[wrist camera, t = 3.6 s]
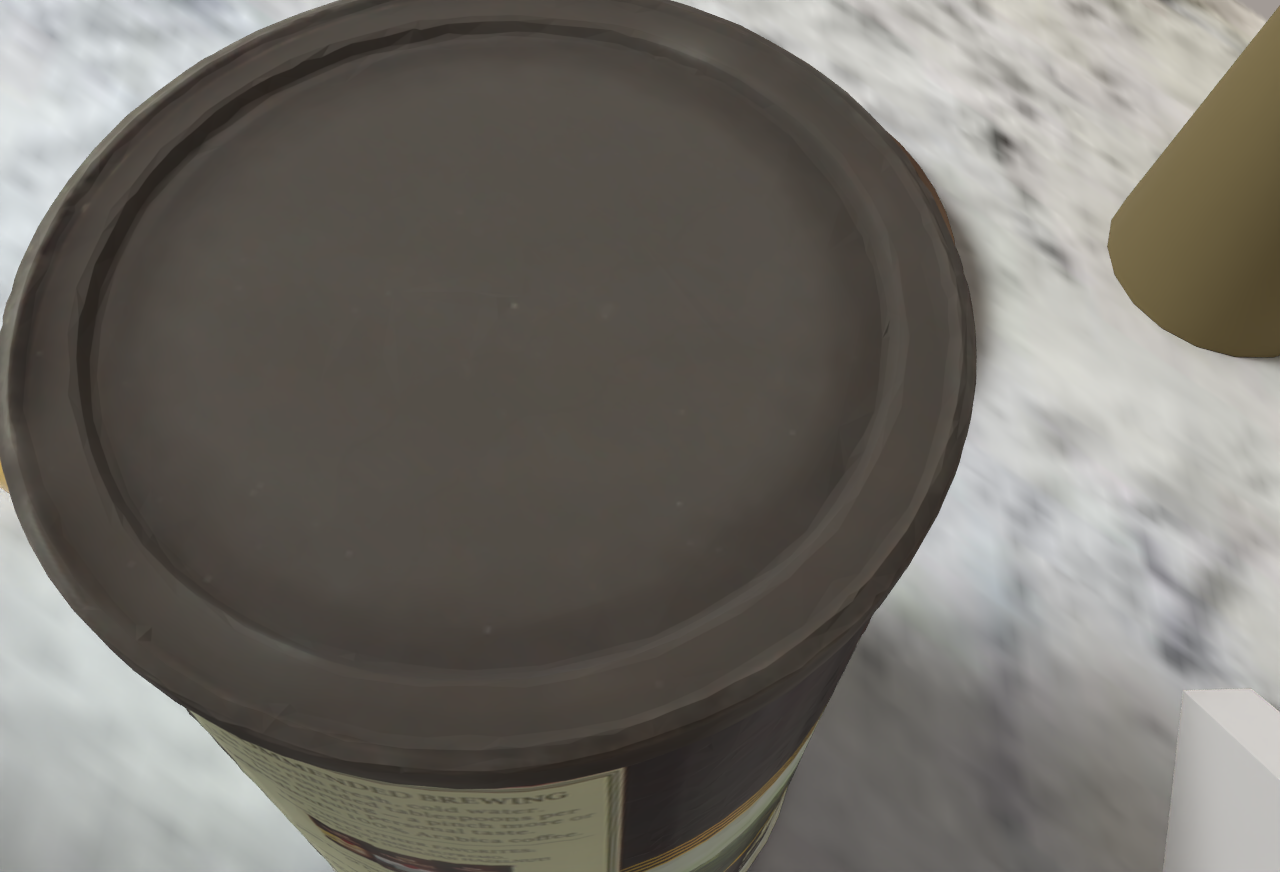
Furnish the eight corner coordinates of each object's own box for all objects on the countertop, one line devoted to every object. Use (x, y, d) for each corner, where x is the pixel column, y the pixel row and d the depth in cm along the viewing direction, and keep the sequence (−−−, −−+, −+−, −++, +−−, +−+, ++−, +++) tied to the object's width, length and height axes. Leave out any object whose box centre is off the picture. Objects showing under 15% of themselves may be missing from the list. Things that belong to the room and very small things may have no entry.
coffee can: (723, 452, 28) (818, -77, 16) (858, 910, 23) (1145, 642, 11) (274, 533, 27) (7, 21, 15) (313, 1039, 22) (-48, 892, 10)
